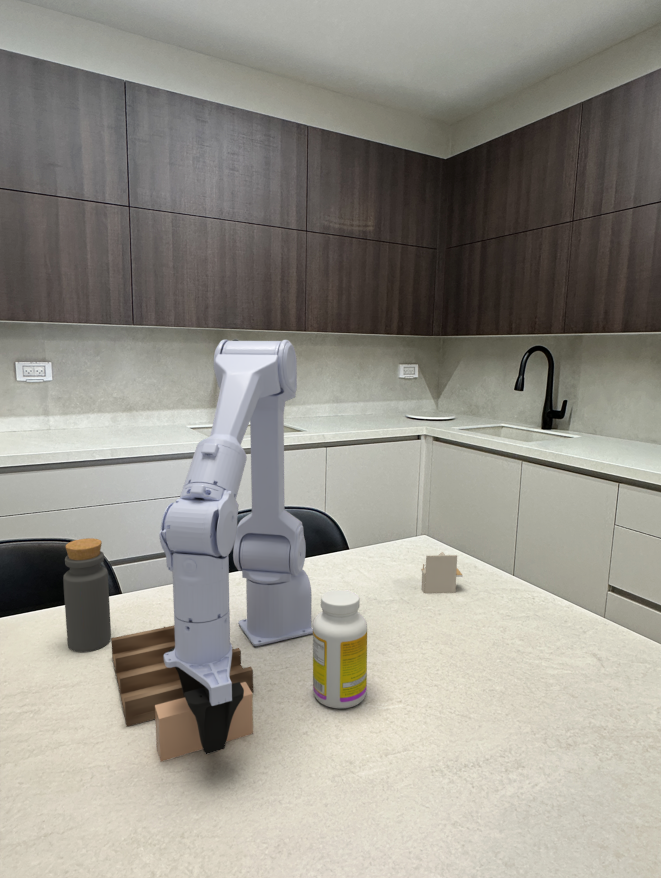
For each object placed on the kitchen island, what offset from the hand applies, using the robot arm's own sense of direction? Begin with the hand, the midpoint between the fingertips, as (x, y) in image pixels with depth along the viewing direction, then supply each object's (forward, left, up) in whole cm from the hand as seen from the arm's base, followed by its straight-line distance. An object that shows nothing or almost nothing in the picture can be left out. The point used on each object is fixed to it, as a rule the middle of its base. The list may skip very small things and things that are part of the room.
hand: (205, 728), depth 61 cm
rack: (0, -14, -1) cm, 14 cm away
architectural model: (-47, -21, -2) cm, 51 cm away
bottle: (+10, -28, -2) cm, 30 cm away
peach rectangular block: (0, 0, -2) cm, 2 cm away
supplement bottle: (-17, -1, -2) cm, 17 cm away
